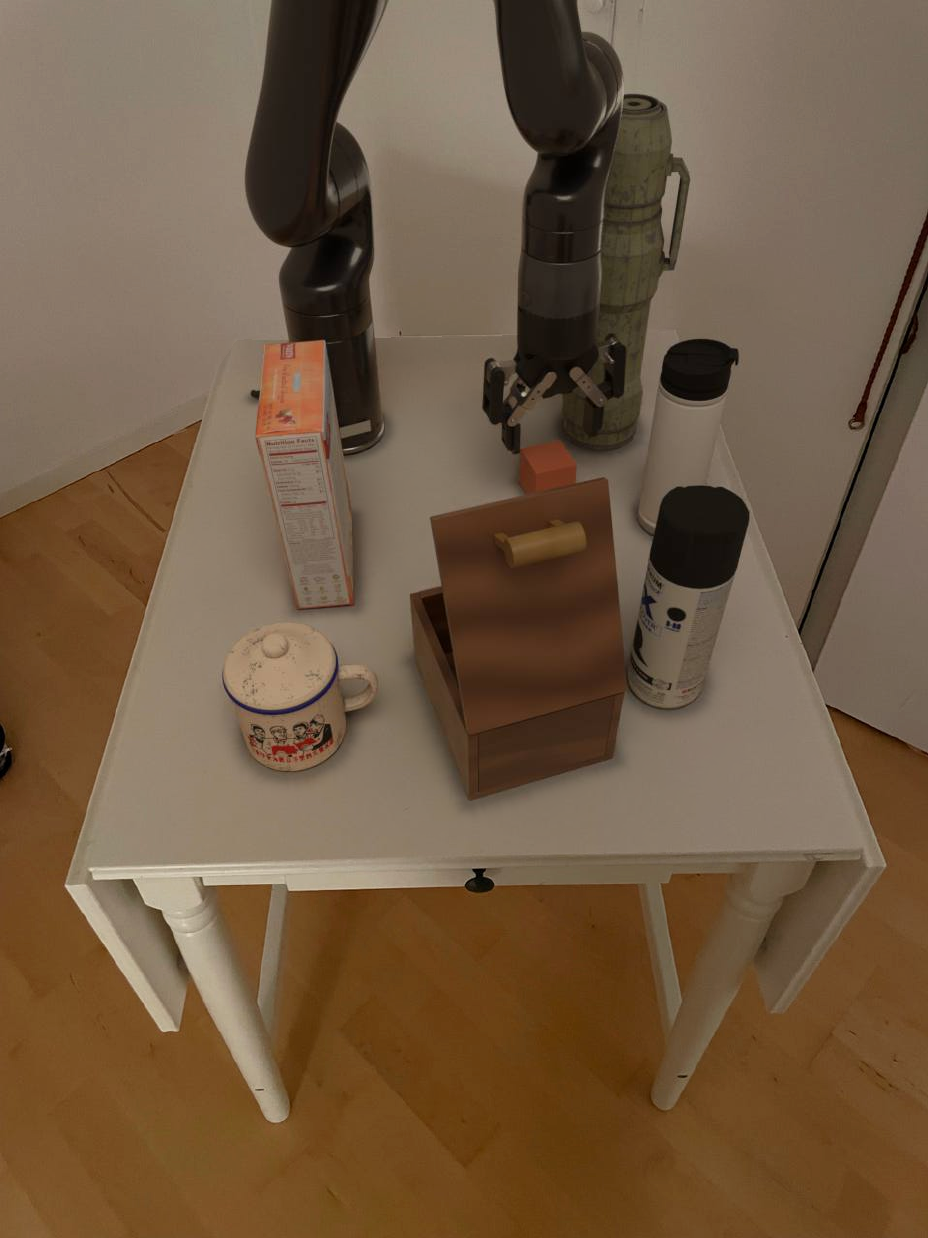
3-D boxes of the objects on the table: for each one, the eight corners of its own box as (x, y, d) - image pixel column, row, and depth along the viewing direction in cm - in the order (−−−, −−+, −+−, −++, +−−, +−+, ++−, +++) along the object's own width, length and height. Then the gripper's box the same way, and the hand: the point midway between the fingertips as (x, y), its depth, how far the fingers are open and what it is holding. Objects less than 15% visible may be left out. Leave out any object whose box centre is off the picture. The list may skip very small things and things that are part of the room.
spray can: (623, 652, 84) (652, 479, 69) (697, 653, 84) (743, 480, 69) (629, 710, 79) (663, 539, 65) (708, 711, 79) (759, 539, 64)
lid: (429, 516, 61) (450, 536, 56) (603, 476, 63) (638, 492, 58) (466, 730, 67) (488, 765, 62) (623, 686, 70) (655, 717, 65)
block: (534, 507, 98) (536, 473, 95) (519, 482, 101) (520, 448, 98) (573, 498, 99) (577, 464, 95) (557, 473, 102) (560, 439, 98)
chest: (415, 661, 84) (409, 593, 77) (543, 627, 86) (548, 559, 80) (469, 801, 73) (467, 737, 67) (612, 758, 76) (624, 692, 70)
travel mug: (699, 544, 94) (740, 372, 79) (634, 536, 95) (662, 365, 80) (701, 505, 98) (740, 335, 83) (639, 497, 99) (666, 328, 84)
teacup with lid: (242, 783, 75) (211, 695, 66) (243, 696, 81) (215, 605, 73) (388, 763, 76) (376, 674, 68) (378, 679, 82) (366, 587, 74)
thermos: (547, 405, 111) (566, 85, 85) (646, 407, 110) (695, 85, 84) (547, 449, 105) (567, 119, 79) (651, 452, 104) (705, 120, 78)
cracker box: (297, 517, 97) (261, 340, 82) (353, 513, 98) (329, 336, 82) (292, 612, 88) (251, 432, 73) (355, 608, 88) (327, 427, 73)
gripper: (613, 262, 87) (599, 408, 99) (471, 289, 84) (475, 435, 96) (648, 298, 82) (629, 447, 94) (499, 328, 79) (499, 477, 91)
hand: (551, 441), depth 95 cm, fingers open, 8 cm apart
